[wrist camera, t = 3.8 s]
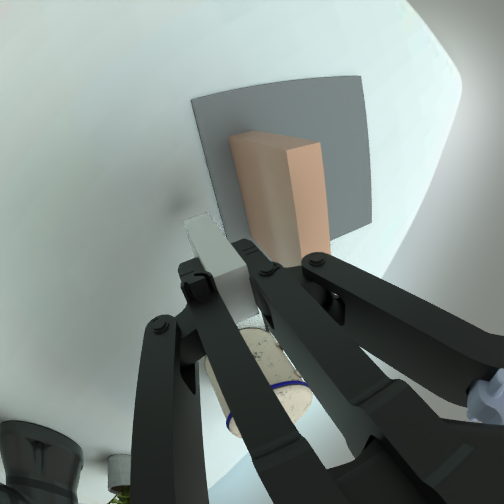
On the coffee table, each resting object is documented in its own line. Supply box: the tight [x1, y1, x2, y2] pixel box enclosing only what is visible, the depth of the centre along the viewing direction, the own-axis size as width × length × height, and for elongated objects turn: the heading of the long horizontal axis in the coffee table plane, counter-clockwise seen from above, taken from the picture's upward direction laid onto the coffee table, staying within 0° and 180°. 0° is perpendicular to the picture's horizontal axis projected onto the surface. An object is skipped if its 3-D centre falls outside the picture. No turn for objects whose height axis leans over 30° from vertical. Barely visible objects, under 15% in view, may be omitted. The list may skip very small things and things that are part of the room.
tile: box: [228, 130, 331, 267], centre depth 19 cm, size 2×9×9 cm, turn 12°
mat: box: [191, 76, 372, 262], centre depth 24 cm, size 16×16×1 cm
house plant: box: [108, 454, 131, 504], centre depth 27 cm, size 14×14×16 cm
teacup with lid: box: [205, 329, 312, 438], centre depth 27 cm, size 12×9×12 cm
